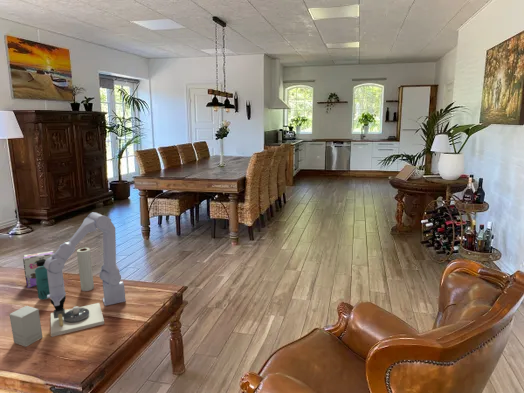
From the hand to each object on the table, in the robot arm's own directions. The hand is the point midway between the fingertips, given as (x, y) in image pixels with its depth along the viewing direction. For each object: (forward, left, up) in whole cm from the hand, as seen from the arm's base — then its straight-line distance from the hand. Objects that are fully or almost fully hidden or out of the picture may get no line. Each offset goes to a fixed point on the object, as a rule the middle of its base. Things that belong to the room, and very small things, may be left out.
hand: (60, 313), depth 164 cm
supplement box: (+12, +10, -4) cm, 16 cm away
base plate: (-6, +3, -3) cm, 8 cm away
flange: (-4, +3, -2) cm, 5 cm away
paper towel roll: (-13, -28, -4) cm, 31 cm away
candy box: (+8, -46, -4) cm, 47 cm away
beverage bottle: (+6, -25, -4) cm, 26 cm away
